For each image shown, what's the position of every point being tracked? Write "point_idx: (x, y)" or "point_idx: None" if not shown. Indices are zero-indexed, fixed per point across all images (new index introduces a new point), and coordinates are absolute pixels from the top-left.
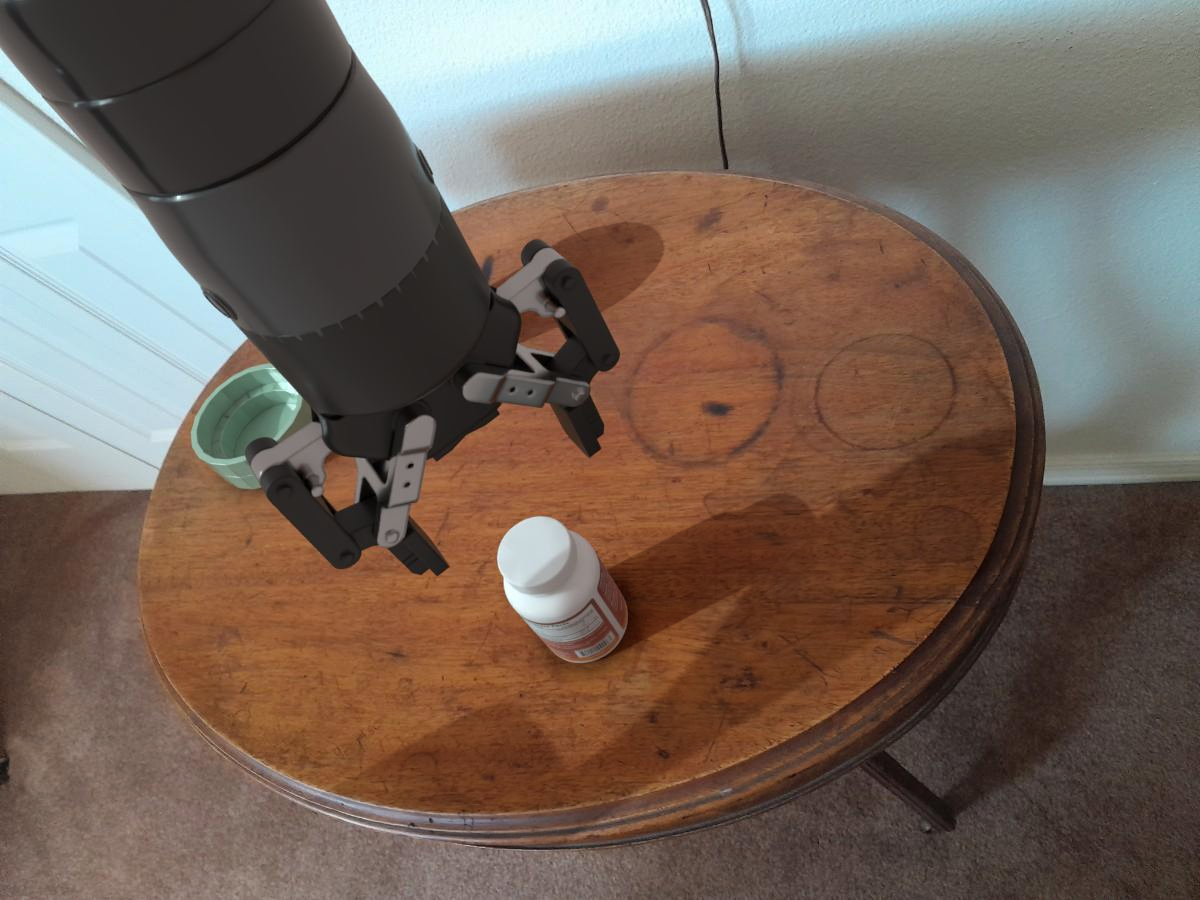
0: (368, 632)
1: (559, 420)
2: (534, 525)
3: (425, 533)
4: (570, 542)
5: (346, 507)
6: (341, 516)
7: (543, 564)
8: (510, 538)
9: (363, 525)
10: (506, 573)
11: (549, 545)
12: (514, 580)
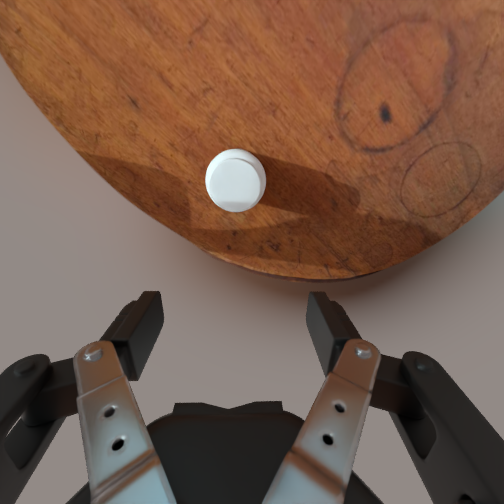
0: (120, 69)
1: (316, 304)
2: (246, 170)
3: (155, 297)
4: (256, 200)
5: (58, 385)
6: (47, 398)
7: (234, 200)
8: (227, 166)
9: (75, 410)
10: (211, 187)
11: (245, 192)
12: (213, 195)
